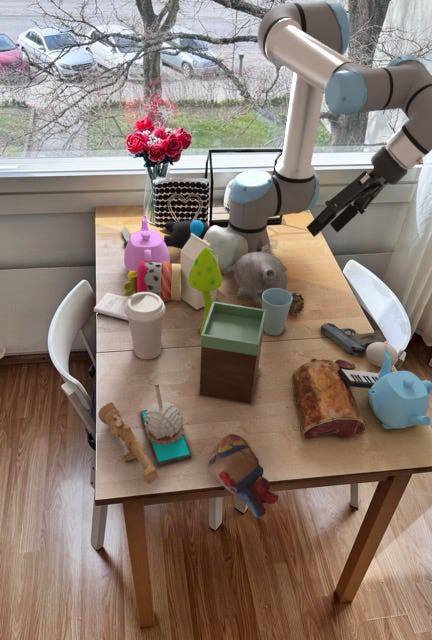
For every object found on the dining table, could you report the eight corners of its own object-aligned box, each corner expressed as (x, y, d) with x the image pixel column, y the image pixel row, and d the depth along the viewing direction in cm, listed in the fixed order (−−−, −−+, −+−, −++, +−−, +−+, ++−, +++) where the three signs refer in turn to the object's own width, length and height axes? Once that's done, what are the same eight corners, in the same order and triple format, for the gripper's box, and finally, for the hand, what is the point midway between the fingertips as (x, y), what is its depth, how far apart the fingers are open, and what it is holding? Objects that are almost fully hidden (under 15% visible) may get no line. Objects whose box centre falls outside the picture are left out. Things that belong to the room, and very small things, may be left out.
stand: (210, 361, 134) (212, 312, 124) (258, 369, 133) (264, 320, 123) (199, 395, 126) (200, 346, 116) (250, 404, 125) (256, 355, 114)
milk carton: (196, 310, 149) (198, 249, 135) (180, 298, 152) (180, 237, 139) (216, 300, 152) (219, 240, 139) (200, 289, 156) (201, 228, 142)
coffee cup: (150, 333, 141) (147, 284, 131) (174, 351, 136) (173, 302, 126) (120, 349, 136) (115, 300, 126) (144, 369, 131) (141, 320, 121)
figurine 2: (375, 330, 135) (370, 352, 140) (364, 342, 132) (359, 363, 136) (405, 342, 132) (399, 364, 136) (395, 355, 128) (389, 376, 133)
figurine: (147, 492, 107) (100, 429, 118) (165, 481, 109) (116, 419, 120) (141, 471, 102) (92, 407, 113) (160, 459, 103) (109, 397, 115)
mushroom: (197, 318, 146) (199, 234, 129) (225, 328, 144) (230, 244, 126) (181, 335, 141) (180, 250, 123) (209, 346, 138) (213, 261, 121)
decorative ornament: (160, 414, 121) (151, 365, 110) (190, 426, 118) (183, 377, 107) (140, 438, 116) (128, 390, 105) (170, 452, 113) (162, 404, 103)
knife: (111, 228, 175) (125, 225, 177) (111, 232, 176) (125, 228, 178) (133, 254, 165) (148, 250, 167) (134, 257, 166) (148, 253, 168)
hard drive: (136, 323, 144) (94, 313, 146) (149, 306, 149) (108, 296, 152) (136, 318, 142) (93, 308, 145) (148, 301, 148) (107, 291, 151)
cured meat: (351, 359, 137) (358, 338, 132) (382, 436, 119) (390, 415, 115) (281, 361, 135) (284, 340, 130) (301, 439, 118) (306, 418, 113)
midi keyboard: (390, 373, 132) (403, 387, 129) (387, 377, 133) (399, 391, 130) (340, 367, 123) (352, 382, 119) (336, 372, 123) (348, 386, 120)
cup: (292, 334, 143) (298, 301, 136) (266, 341, 141) (271, 308, 133) (278, 317, 148) (283, 285, 141) (253, 324, 146) (256, 291, 138)
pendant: (308, 293, 150) (296, 285, 147) (308, 317, 147) (296, 309, 144) (294, 300, 153) (282, 293, 150) (294, 323, 150) (281, 316, 147)
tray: (212, 312, 124) (212, 301, 122) (265, 320, 123) (266, 309, 120) (200, 346, 115) (200, 335, 113) (257, 356, 114) (258, 344, 112)
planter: (245, 230, 152) (211, 218, 155) (227, 272, 152) (194, 259, 155) (255, 244, 163) (223, 233, 166) (238, 283, 164) (207, 270, 167)
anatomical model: (198, 454, 114) (240, 510, 115) (204, 464, 101) (251, 528, 103) (234, 427, 114) (275, 483, 116) (245, 434, 102) (290, 497, 103)
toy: (165, 210, 163) (215, 213, 162) (168, 236, 173) (215, 239, 172) (162, 232, 159) (213, 235, 158) (165, 258, 169) (213, 261, 168)
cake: (179, 288, 156) (126, 285, 155) (180, 255, 149) (125, 251, 148) (178, 309, 149) (123, 306, 147) (180, 275, 142) (122, 272, 140)
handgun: (352, 309, 148) (320, 324, 143) (391, 337, 140) (359, 353, 135) (350, 316, 150) (318, 331, 144) (388, 344, 142) (356, 361, 137)
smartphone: (157, 463, 111) (140, 411, 120) (157, 466, 111) (140, 413, 121) (192, 455, 112) (172, 404, 122) (192, 457, 113) (172, 406, 123)
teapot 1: (173, 284, 157) (172, 248, 148) (126, 287, 155) (122, 250, 146) (166, 248, 170) (165, 212, 162) (123, 249, 169) (120, 214, 160)
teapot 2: (348, 417, 122) (364, 381, 114) (369, 382, 130) (385, 347, 122) (414, 450, 117) (435, 415, 109) (431, 412, 126) (451, 377, 118)
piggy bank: (295, 312, 147) (273, 276, 138) (242, 331, 154) (218, 298, 145) (292, 270, 159) (272, 234, 149) (243, 289, 165) (220, 256, 156)
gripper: (390, 170, 101) (310, 247, 114) (423, 172, 121) (351, 238, 134) (365, 140, 102) (288, 220, 115) (402, 147, 122) (333, 214, 135)
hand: (322, 230), depth 125 cm, fingers open, 13 cm apart
